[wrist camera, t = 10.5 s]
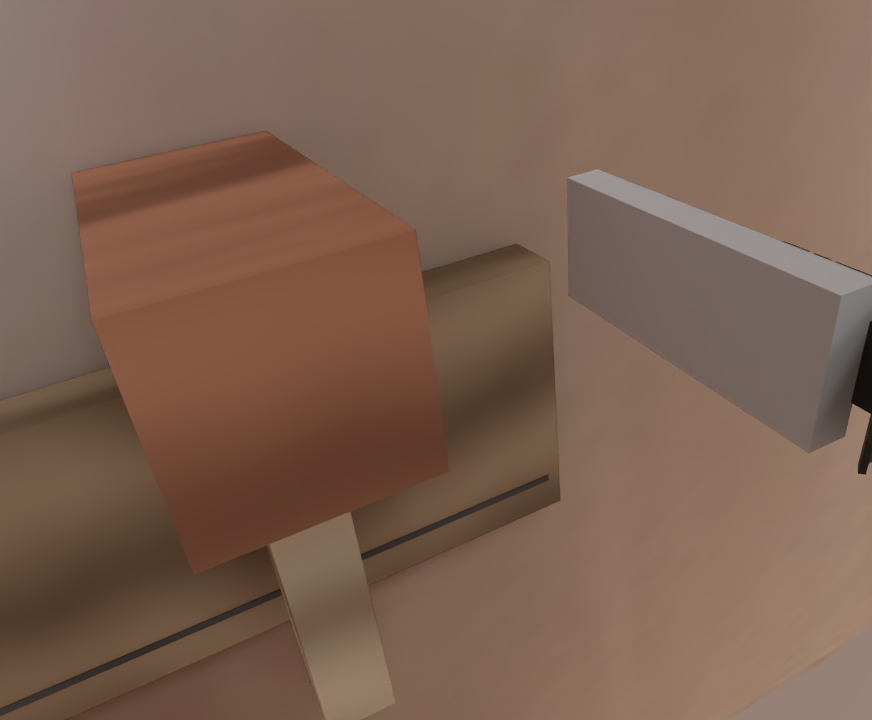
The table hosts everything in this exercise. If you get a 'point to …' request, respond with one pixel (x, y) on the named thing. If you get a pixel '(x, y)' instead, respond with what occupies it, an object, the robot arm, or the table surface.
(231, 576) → the board
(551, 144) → the table surface
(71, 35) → the table surface
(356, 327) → the mallet
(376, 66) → the table surface
